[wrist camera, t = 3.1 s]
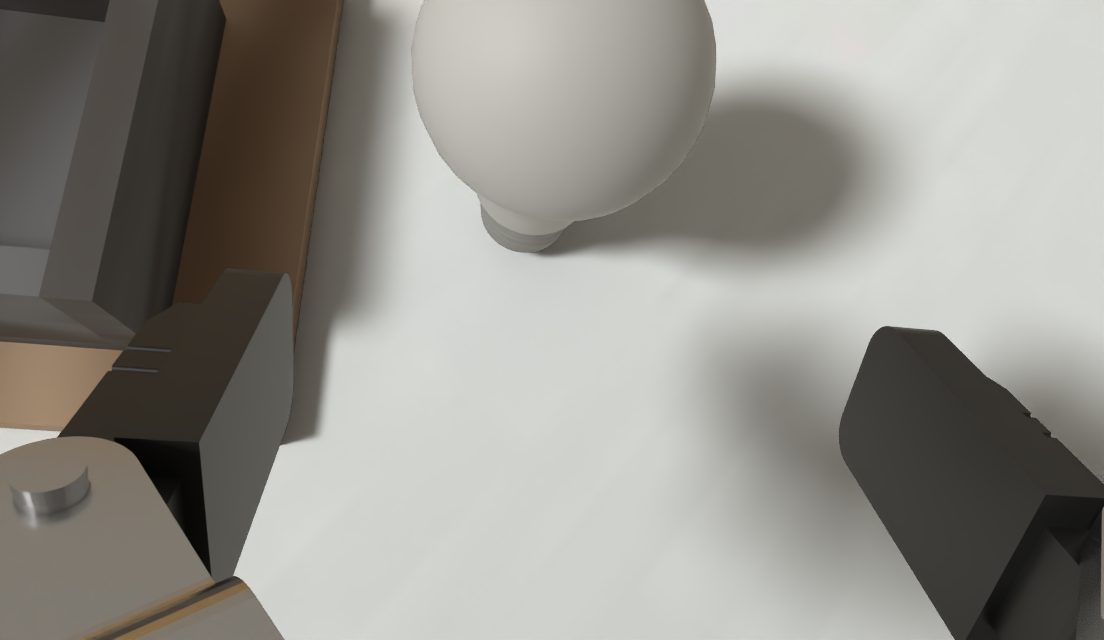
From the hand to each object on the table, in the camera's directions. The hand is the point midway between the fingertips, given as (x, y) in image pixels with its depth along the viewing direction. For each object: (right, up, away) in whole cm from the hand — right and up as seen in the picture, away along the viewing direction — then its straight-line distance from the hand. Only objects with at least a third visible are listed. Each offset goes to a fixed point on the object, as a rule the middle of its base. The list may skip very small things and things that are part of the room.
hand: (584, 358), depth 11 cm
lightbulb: (-1, +3, +13) cm, 14 cm away
